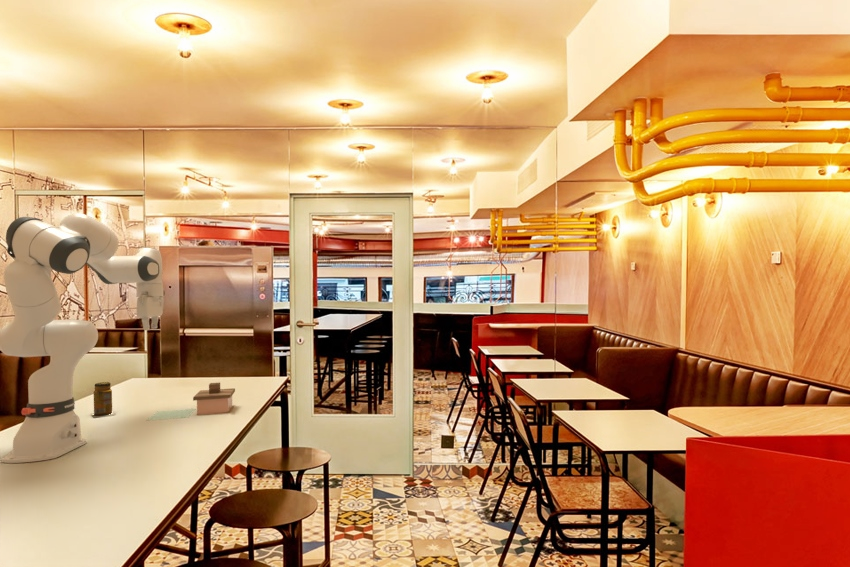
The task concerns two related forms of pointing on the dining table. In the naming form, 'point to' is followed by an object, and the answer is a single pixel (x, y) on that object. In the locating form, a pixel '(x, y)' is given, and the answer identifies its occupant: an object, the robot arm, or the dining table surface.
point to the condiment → (102, 400)
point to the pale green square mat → (171, 414)
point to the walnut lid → (214, 393)
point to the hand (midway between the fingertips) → (150, 329)
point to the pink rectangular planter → (214, 406)
